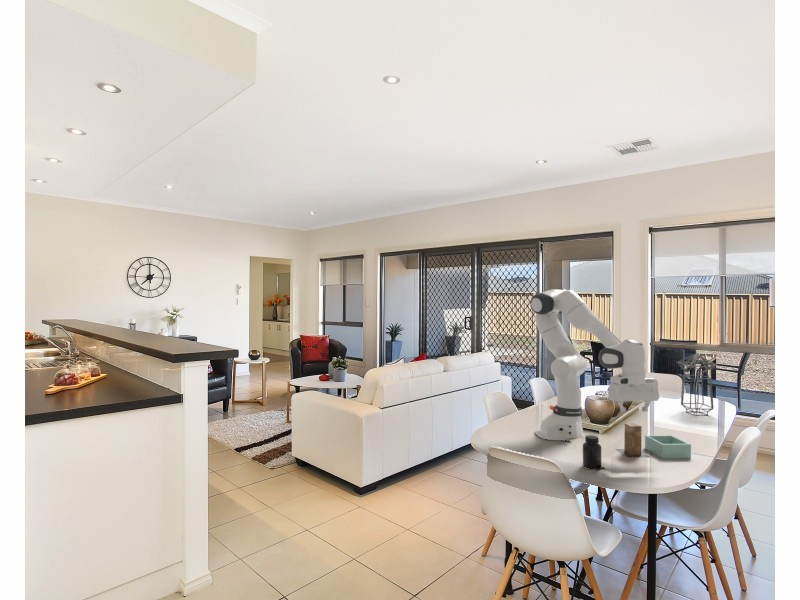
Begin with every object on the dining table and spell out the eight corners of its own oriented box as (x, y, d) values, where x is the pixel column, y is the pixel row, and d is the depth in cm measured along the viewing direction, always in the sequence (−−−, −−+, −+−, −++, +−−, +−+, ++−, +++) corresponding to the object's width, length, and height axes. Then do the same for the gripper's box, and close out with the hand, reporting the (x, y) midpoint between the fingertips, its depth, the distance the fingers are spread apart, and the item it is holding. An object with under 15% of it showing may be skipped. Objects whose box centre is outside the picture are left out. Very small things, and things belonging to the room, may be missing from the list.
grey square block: (627, 461, 182) (628, 442, 182) (614, 452, 192) (615, 435, 192) (651, 460, 183) (651, 442, 183) (637, 452, 193) (637, 435, 193)
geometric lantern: (719, 417, 250) (719, 356, 250) (691, 418, 251) (691, 356, 250) (701, 410, 266) (701, 352, 265) (674, 410, 267) (674, 352, 266)
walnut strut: (630, 455, 185) (630, 426, 185) (624, 451, 190) (624, 423, 189) (641, 454, 185) (641, 426, 185) (634, 451, 190) (635, 423, 190)
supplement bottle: (596, 463, 179) (596, 434, 179) (604, 470, 172) (605, 439, 172) (579, 463, 179) (579, 434, 178) (587, 470, 172) (587, 439, 172)
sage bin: (662, 461, 182) (662, 444, 182) (644, 451, 194) (645, 435, 194) (690, 461, 182) (690, 444, 182) (671, 451, 194) (671, 435, 194)
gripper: (653, 377, 191) (653, 409, 191) (606, 377, 190) (606, 410, 190) (662, 379, 184) (662, 412, 184) (614, 380, 184) (614, 413, 183)
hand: (633, 411), depth 187 cm, fingers open, 8 cm apart
